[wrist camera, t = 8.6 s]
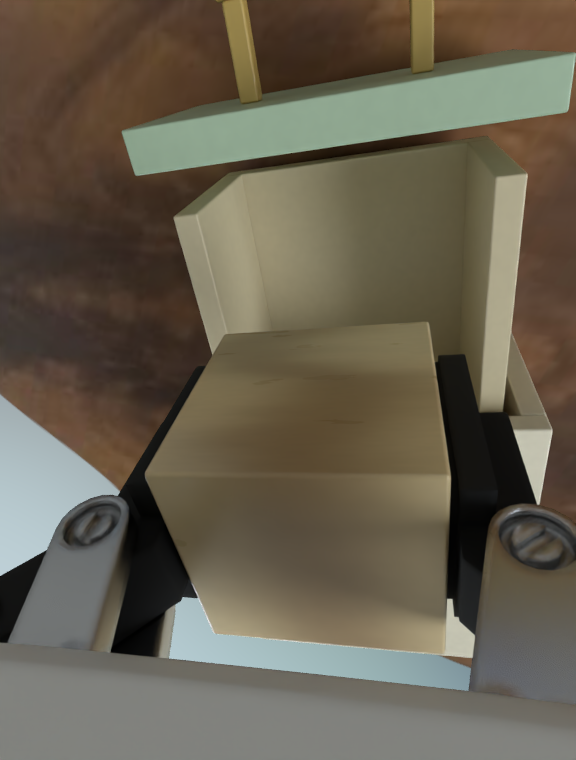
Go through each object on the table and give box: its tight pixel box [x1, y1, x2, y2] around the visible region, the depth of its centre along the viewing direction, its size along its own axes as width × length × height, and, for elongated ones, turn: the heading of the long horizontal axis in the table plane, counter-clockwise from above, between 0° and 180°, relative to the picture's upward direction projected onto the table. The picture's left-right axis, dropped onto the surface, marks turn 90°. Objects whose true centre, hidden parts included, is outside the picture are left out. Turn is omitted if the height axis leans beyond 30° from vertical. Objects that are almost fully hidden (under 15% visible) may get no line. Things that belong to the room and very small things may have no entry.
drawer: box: [122, 0, 576, 413], centre depth 17 cm, size 17×11×7 cm, turn 9°
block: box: [145, 322, 451, 654], centre depth 10 cm, size 4×4×4 cm
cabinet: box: [263, 332, 553, 658], centre depth 24 cm, size 15×13×9 cm
